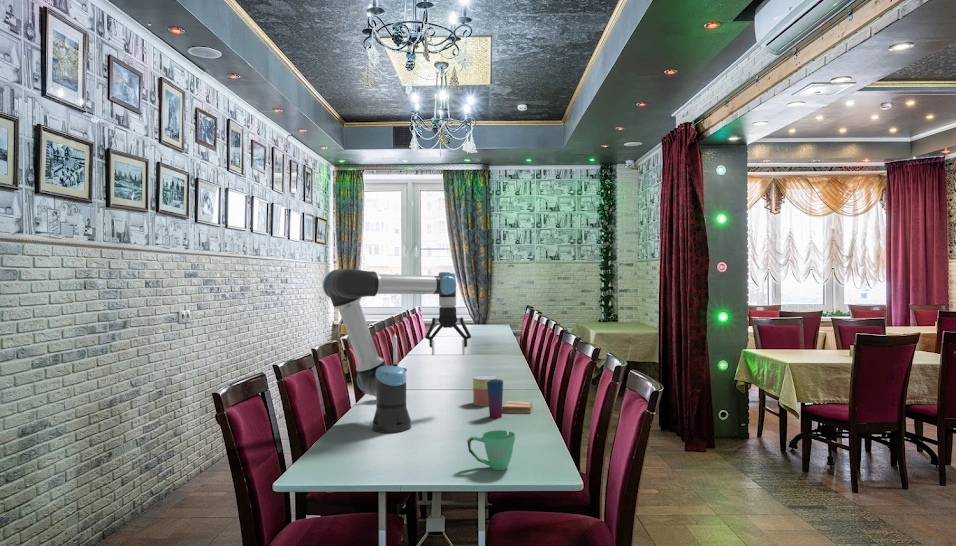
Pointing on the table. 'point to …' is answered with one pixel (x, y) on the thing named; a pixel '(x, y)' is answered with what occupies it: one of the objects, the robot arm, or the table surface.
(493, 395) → the cup
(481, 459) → the mug
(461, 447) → the table surface
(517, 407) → the board
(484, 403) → the canned food
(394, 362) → the candlestick
